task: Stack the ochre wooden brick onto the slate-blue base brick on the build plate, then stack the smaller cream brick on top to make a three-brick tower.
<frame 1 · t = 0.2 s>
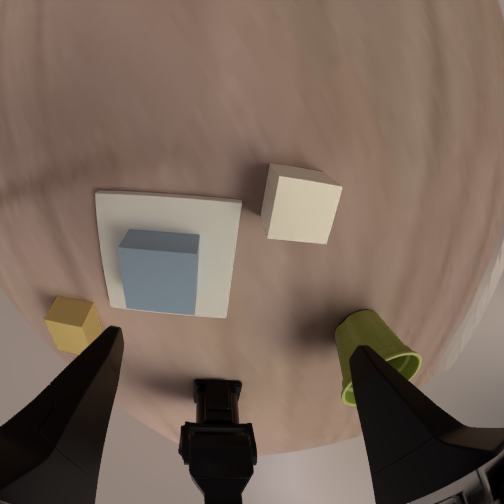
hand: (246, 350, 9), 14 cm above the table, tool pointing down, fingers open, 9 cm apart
plant pot: (356, 325, 31), on the table
brick cream: (291, 193, 22), on the table
base brick: (164, 262, 23), point 1 cm above the table, touching build plate
build plate: (165, 258, 24), on the table
brick ochre: (80, 314, 26), on the table
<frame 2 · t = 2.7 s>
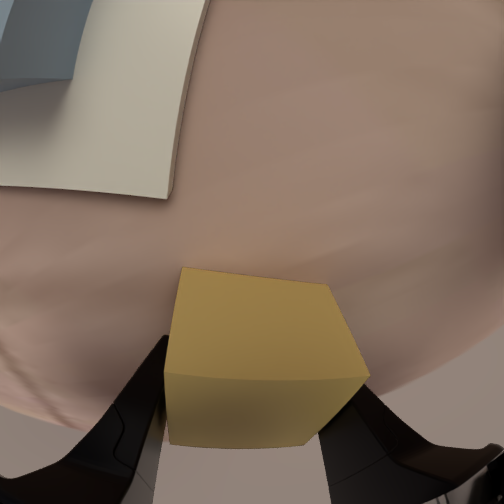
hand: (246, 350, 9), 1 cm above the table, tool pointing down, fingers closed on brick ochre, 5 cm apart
base brick: (21, 4, 3), point 1 cm above the table, touching build plate
build plate: (34, 8, 3), on the table
brick ochre: (244, 329, 10), on the table, touching gripper
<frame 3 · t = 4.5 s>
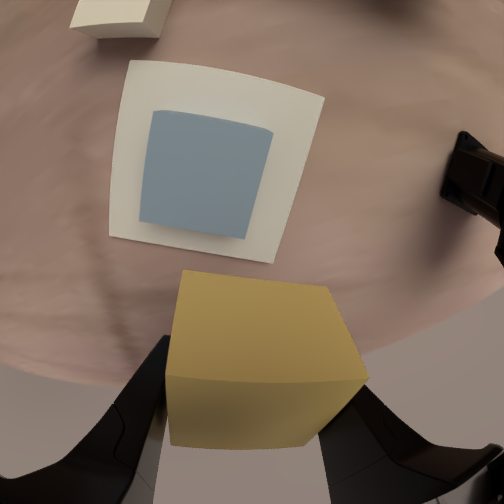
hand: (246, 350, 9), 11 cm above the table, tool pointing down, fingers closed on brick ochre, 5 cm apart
brick cream: (137, 9, 11), on the table
base brick: (204, 165, 16), point 1 cm above the table, touching build plate
build plate: (205, 162, 17), on the table
brick ochre: (244, 331, 10), point 10 cm above the table, touching gripper
when the fingers open (6 cm above the table, at t = 6.0 s): brick ochre drops 1 cm, resting on base brick.
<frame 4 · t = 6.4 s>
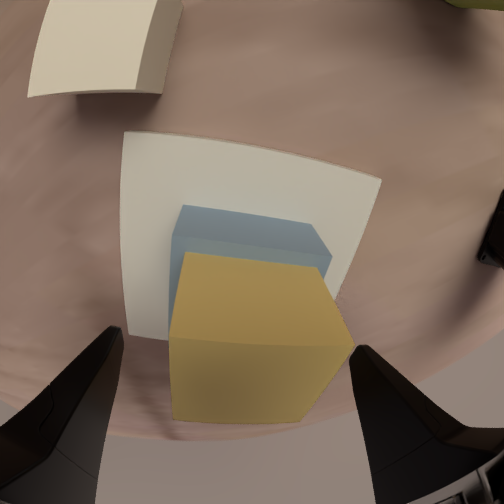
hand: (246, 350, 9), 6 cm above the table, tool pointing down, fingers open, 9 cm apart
brick cream: (125, 47, 8), on the table
base brick: (237, 269, 14), point 1 cm above the table, touching brick ochre, build plate
build plate: (236, 260, 14), on the table
brick ochre: (242, 311, 11), point 4 cm above the table, touching base brick
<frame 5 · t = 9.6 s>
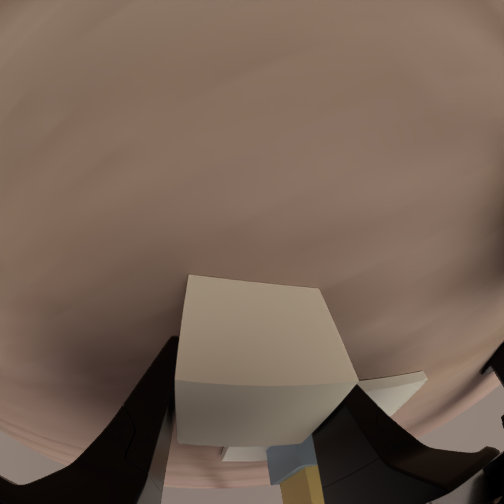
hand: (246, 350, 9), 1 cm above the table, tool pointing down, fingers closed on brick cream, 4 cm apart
brick cream: (244, 329, 10), on the table, touching gripper
base brick: (317, 435, 16), point 1 cm above the table, touching brick ochre, build plate
build plate: (315, 425, 16), on the table
brick ochre: (326, 470, 13), point 4 cm above the table, touching base brick
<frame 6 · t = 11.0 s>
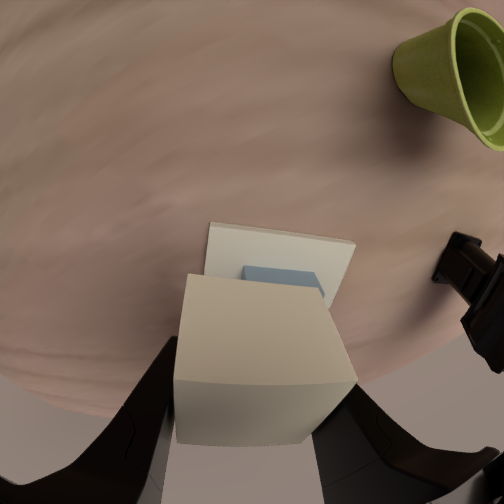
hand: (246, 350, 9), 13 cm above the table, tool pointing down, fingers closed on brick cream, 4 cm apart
plant pot: (417, 73, 15), on the table
brick cream: (243, 328, 10), point 12 cm above the table, touching gripper
base brick: (271, 297, 24), point 1 cm above the table, touching brick ochre, build plate
build plate: (270, 291, 24), on the table
when the fingers open (10 cm above the table, at t = 12.5 s): brick cream drops 1 cm, resting on brick ochre.
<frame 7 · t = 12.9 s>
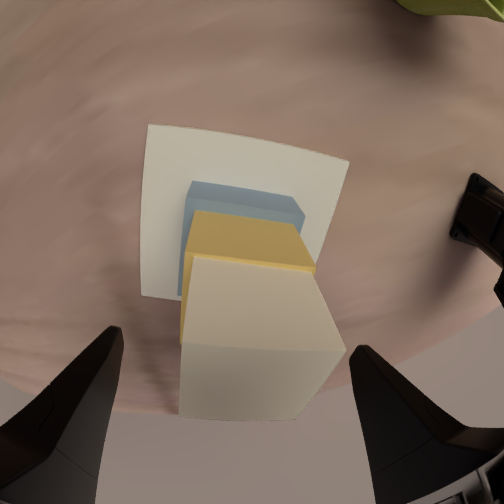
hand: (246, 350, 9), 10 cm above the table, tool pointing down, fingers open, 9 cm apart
brick cream: (242, 309, 11), point 8 cm above the table, touching brick ochre
base brick: (234, 233, 17), point 1 cm above the table, touching brick ochre, build plate
build plate: (233, 228, 18), on the table
brick ochre: (236, 260, 15), point 4 cm above the table, touching base brick, brick cream
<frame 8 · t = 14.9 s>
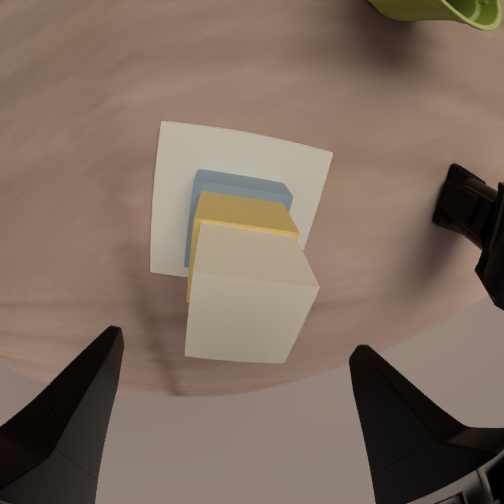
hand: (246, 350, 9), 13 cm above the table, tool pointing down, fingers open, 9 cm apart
brick cream: (240, 269, 14), point 8 cm above the table, touching brick ochre
base brick: (233, 214, 20), point 1 cm above the table, touching brick ochre, build plate
build plate: (233, 210, 20), on the table
brick ochre: (235, 234, 17), point 4 cm above the table, touching base brick, brick cream
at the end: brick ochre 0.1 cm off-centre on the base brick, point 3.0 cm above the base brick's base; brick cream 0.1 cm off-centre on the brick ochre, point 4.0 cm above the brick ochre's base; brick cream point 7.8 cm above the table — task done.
